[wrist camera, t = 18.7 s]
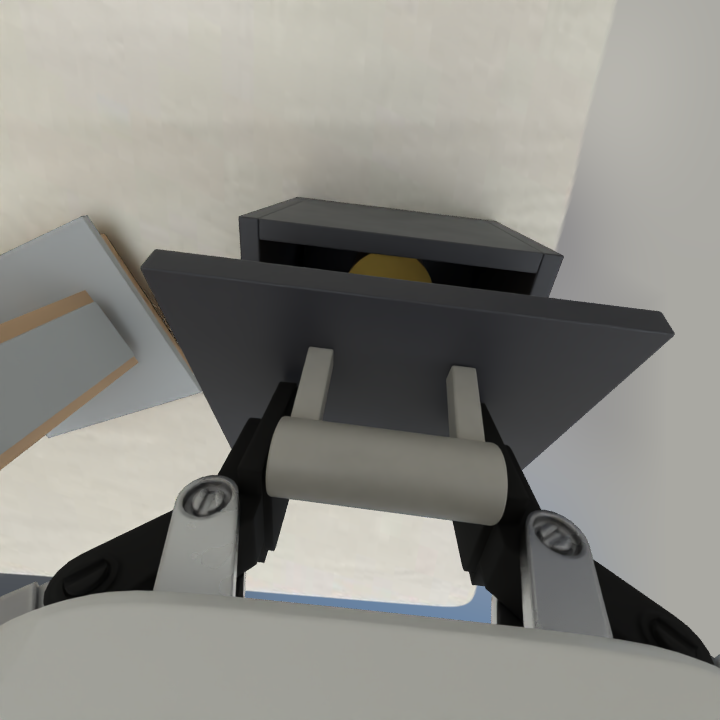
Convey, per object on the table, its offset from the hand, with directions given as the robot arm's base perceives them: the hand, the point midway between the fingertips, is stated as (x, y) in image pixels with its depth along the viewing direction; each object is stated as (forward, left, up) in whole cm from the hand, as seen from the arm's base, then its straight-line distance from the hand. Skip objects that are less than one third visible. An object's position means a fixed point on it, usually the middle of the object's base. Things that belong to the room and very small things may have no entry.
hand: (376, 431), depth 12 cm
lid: (0, +1, -2) cm, 3 cm away
